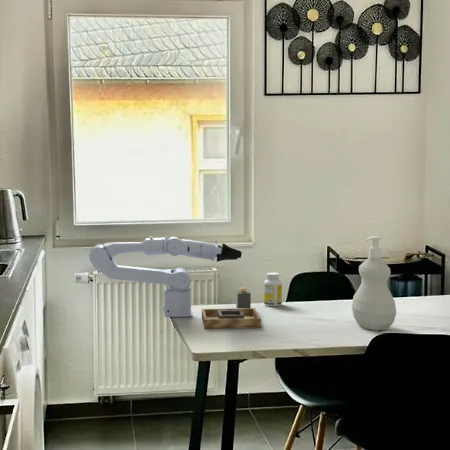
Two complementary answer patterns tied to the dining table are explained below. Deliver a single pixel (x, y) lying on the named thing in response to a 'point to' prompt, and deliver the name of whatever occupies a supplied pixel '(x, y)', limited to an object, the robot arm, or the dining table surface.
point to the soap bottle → (374, 292)
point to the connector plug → (243, 299)
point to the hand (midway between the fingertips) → (239, 255)
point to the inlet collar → (230, 314)
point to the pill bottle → (272, 290)
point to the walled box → (249, 319)
